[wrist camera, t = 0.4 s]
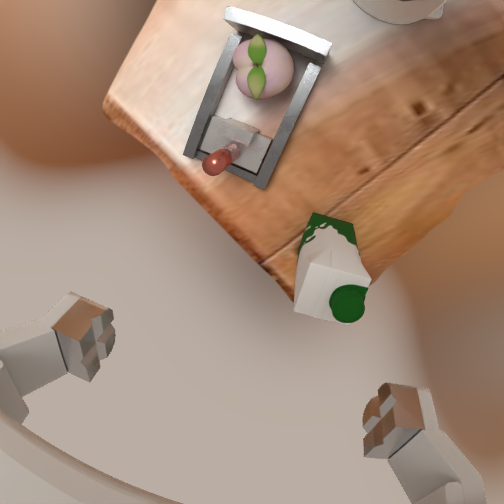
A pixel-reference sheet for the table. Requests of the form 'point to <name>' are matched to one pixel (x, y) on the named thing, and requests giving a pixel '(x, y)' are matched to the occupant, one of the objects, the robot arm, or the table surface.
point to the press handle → (233, 146)
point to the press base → (245, 24)
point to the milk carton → (330, 272)
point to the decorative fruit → (262, 67)
